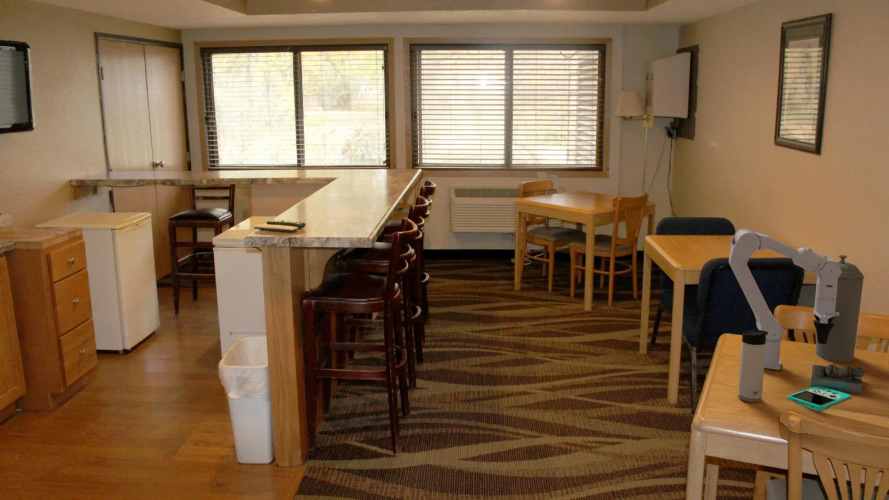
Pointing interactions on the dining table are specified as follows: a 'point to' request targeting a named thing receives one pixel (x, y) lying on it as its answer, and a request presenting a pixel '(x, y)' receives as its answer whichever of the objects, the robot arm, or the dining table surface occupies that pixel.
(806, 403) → the handheld game console
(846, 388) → the square socket
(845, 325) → the canister
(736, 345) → the dining table surface
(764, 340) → the travel mug
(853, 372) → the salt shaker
